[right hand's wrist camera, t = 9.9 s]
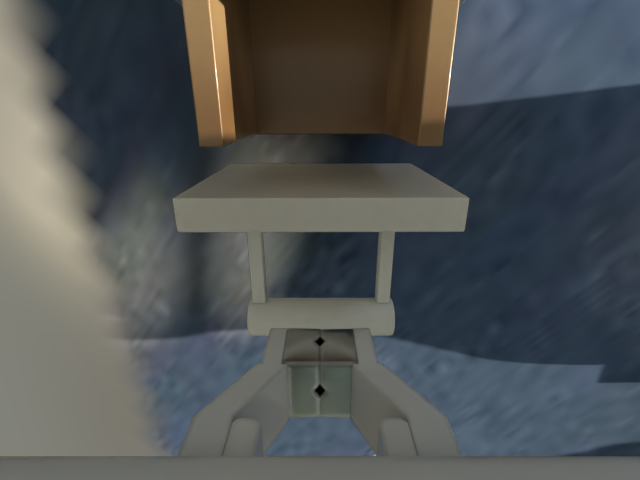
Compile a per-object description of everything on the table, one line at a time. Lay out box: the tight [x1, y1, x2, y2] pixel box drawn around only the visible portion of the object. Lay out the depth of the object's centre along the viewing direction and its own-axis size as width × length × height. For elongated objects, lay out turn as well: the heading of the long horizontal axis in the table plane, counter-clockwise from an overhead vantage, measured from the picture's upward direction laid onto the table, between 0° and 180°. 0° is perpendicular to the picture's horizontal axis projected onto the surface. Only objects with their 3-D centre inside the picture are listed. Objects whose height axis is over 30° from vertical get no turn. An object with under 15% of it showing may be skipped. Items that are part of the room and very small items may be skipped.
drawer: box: [173, 0, 469, 336], centre depth 13 cm, size 26×10×8 cm, turn 0°
